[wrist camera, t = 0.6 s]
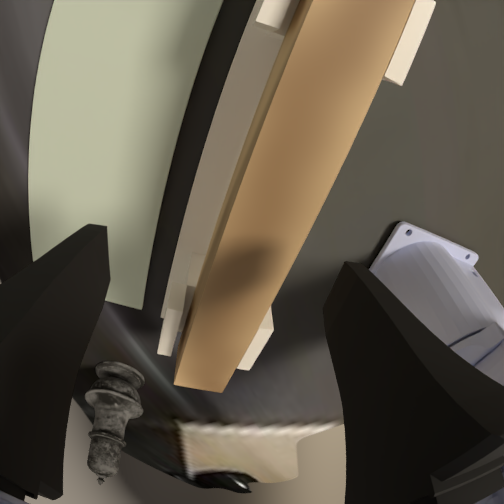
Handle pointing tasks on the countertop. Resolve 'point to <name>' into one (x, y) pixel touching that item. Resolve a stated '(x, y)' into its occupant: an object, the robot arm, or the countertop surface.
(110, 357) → the countertop surface
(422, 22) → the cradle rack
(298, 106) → the oak bar
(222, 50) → the countertop surface
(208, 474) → the countertop surface
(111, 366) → the grey chess piece
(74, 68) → the sage mat
